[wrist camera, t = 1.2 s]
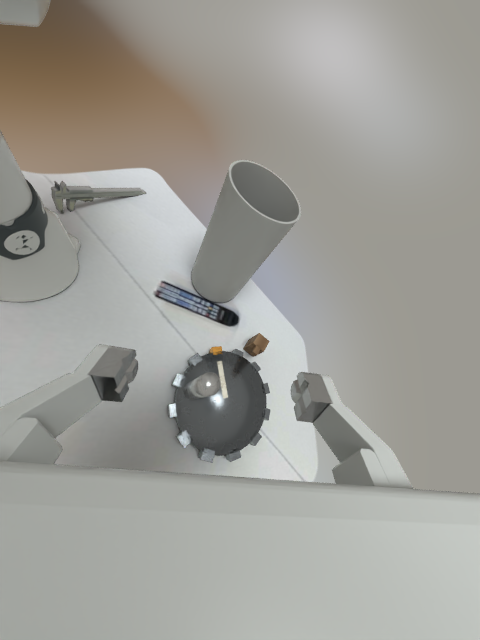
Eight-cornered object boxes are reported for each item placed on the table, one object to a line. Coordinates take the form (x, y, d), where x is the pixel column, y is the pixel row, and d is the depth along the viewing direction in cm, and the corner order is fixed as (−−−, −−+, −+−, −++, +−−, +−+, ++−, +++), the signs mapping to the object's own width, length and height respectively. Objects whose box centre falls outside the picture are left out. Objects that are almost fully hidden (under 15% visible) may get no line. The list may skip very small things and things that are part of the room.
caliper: (61, 215, 40) (49, 186, 35) (57, 211, 40) (45, 181, 35) (146, 194, 51) (147, 170, 46) (143, 191, 51) (143, 167, 46)
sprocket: (142, 417, 31) (142, 420, 21) (211, 331, 42) (234, 305, 32) (236, 484, 33) (279, 518, 23) (278, 385, 44) (321, 377, 34)
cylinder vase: (215, 255, 53) (262, 157, 32) (246, 288, 53) (312, 212, 32) (179, 274, 46) (210, 163, 25) (214, 313, 46) (274, 234, 25)
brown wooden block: (239, 354, 44) (249, 348, 40) (248, 339, 47) (259, 332, 43) (249, 362, 45) (260, 357, 41) (258, 347, 47) (269, 341, 43)
